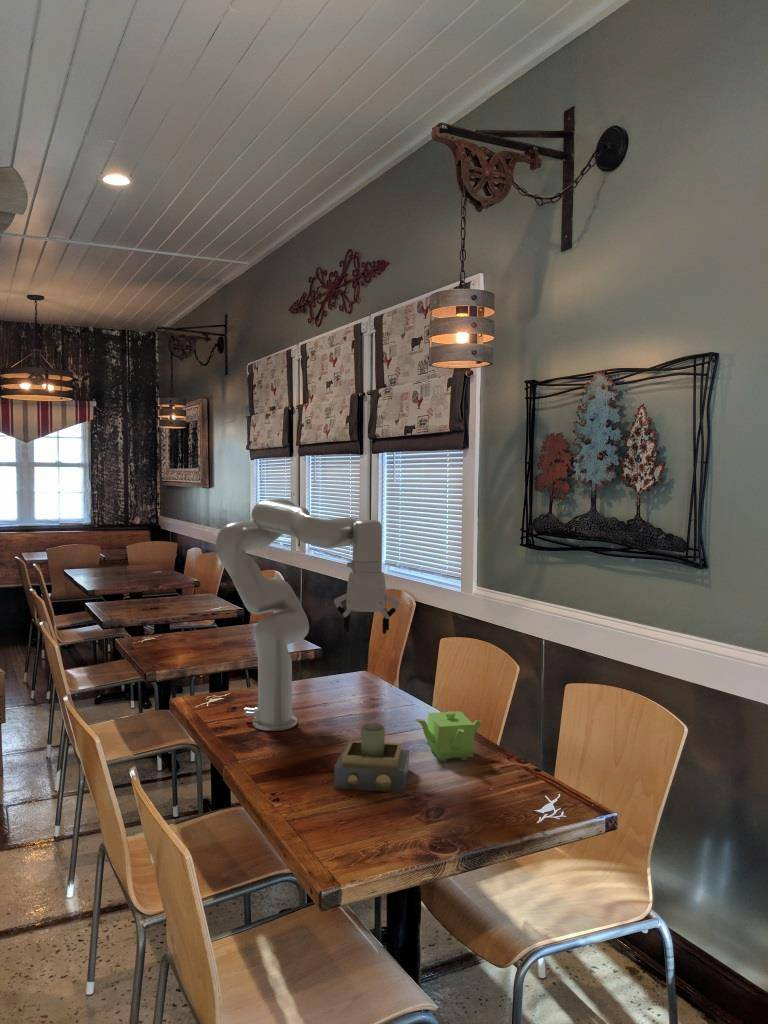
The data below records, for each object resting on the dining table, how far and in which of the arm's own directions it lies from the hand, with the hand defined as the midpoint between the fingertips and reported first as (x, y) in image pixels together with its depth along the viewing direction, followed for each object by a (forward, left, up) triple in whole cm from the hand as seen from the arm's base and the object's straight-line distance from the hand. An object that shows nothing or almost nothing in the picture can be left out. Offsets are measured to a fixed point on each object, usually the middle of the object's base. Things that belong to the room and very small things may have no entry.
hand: (366, 632), depth 198 cm
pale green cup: (+5, -21, -25) cm, 33 cm away
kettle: (+22, -4, -31) cm, 38 cm away
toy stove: (+5, -21, -30) cm, 37 cm away
